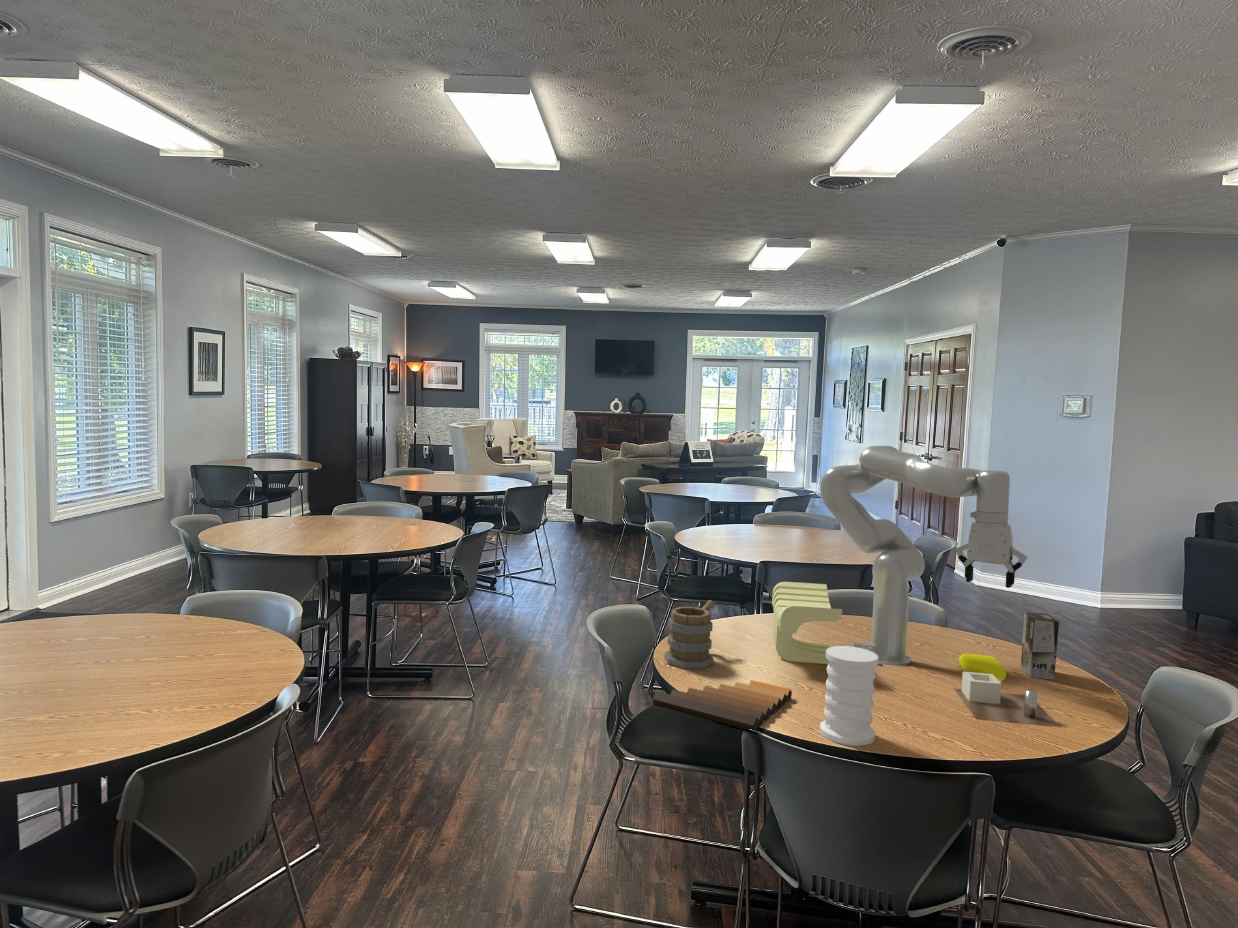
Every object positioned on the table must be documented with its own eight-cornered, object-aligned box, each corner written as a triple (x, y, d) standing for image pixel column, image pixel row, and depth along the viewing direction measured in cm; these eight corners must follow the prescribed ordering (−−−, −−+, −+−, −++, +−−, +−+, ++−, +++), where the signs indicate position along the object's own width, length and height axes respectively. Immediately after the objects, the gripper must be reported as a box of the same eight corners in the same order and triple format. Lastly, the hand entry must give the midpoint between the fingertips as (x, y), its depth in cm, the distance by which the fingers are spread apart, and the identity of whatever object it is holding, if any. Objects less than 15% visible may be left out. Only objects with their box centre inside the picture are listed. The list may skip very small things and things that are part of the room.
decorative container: (837, 719, 178) (842, 642, 177) (884, 736, 170) (890, 655, 169) (809, 732, 170) (813, 651, 169) (857, 750, 162) (862, 665, 161)
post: (1025, 717, 180) (1027, 692, 179) (1022, 713, 182) (1024, 688, 182) (1036, 718, 180) (1038, 693, 179) (1033, 714, 182) (1035, 689, 181)
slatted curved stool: (770, 637, 241) (773, 580, 240) (823, 641, 239) (826, 584, 238) (777, 669, 211) (781, 604, 210) (838, 674, 209) (842, 609, 208)
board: (975, 725, 178) (976, 718, 178) (953, 694, 198) (953, 688, 198) (1060, 733, 175) (1061, 727, 175) (1029, 701, 195) (1029, 695, 195)
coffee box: (1055, 680, 212) (1060, 621, 211) (1029, 677, 213) (1034, 619, 212) (1044, 669, 221) (1048, 613, 220) (1019, 666, 222) (1024, 611, 221)
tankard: (696, 672, 207) (698, 616, 206) (656, 661, 214) (659, 607, 213) (733, 654, 223) (735, 603, 221) (695, 645, 230) (697, 595, 229)
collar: (969, 701, 189) (970, 680, 189) (961, 690, 196) (962, 671, 196) (999, 703, 188) (1001, 683, 188) (991, 693, 195) (992, 674, 195)
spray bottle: (996, 666, 223) (1021, 697, 199) (955, 662, 226) (976, 693, 202) (997, 656, 223) (1022, 686, 199) (956, 652, 225) (977, 681, 201)
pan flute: (652, 707, 182) (752, 734, 169) (652, 693, 182) (753, 719, 169) (699, 678, 204) (791, 700, 191) (699, 665, 203) (792, 686, 190)
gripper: (952, 516, 205) (949, 581, 206) (1023, 522, 193) (1020, 591, 194) (962, 514, 210) (959, 577, 211) (1032, 520, 199) (1029, 587, 199)
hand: (988, 584), depth 203 cm, fingers open, 9 cm apart
